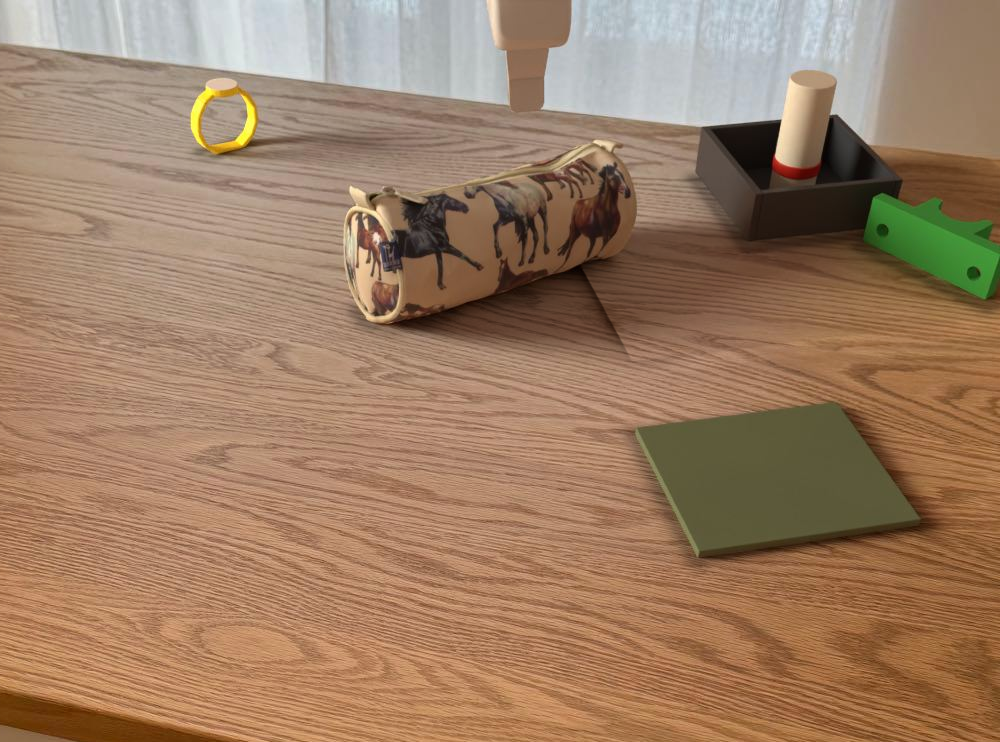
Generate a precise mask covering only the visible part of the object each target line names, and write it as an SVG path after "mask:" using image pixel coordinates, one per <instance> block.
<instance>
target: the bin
mask: <svg viewBox="0 0 1000 742" xmlns="http://www.w3.org/2000/svg"><path fill="white" fill-rule="evenodd" d="M781 121H782V118H781V119H769V120H762V121H761V120H759V121H749V122H739V123H727V124H717V125H716V124H715V125H704V126H701V127H700V135H699V142H698V148H697V155H696V156H697V157H696V164H695V174H696V175H697V177H698V178H699V179H700V180H701V182H702V183H703V184H704V186H705V187H706V188H707V190H708V191H709V192H710V193H711V195H712V196H713V198H714V199H715V200H716V202H717V203H718V204H719V206H720V207H721V209H723V211H724V213H726V215H727V216H728V218H729V219H730V220H731V222H732V223H733V225H734V226H735V227H736V229H738V230H739V232H740V233H741V235H742V236H743V237H744V239H745V240H746V241H747V242H756V241H757V242H758V241H766V240H767V241H768V240H777V239H784V238H785V239H786V238H795V237H804V236H805V237H806V236H814V235H822V234H832V233H841V232H851V231H860V230H865V229H866V225H867V221H868V217H869V213H870V209H871V205H872V201H873V197H875V196H877V195H879V194H881V193H884V194H886V195H888V196H890V197H893V198H895V199H897V200H899V197H900V193H901V188H902V185H903V181H904V179H903V178H902V177H901V176H900V175H899V174H898V173H897V172H896V171H895V170H894V169H893V168H892V167H891V166H890V165H889V164H888V163H887V162H886V161H885V160H884V159H883V158H882V157H881V156H880V155H879V154H878V153H877V152H876V151H875V150H873V148H872V147H871V146H870V145H869V144H868V143H867V142H866V141H865V140H864V139H863V138H861V136H860V135H859V134H857V132H856V131H854V130H853V129H852V128H851V126H849V125H848V123H847V122H845V120H844V119H842V118H841V116H840V115H838V114H830V117H829V122H828V127H827V131H826V136H825V141H824V146H823V150H822V155H821V166H820V170H819V173H818V175H817V178H816V183H815V185H809V186H799V187H789V188H779V189H769V186H770V181H771V175H772V170H773V169H772V163H773V158H774V154H775V153H776V148H777V143H778V138H779V132H780V127H781ZM885 228H888V227H887V226H886V225H885Z"/></svg>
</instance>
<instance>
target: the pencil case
mask: <svg viewBox="0 0 1000 742" xmlns="http://www.w3.org/2000/svg"><path fill="white" fill-rule="evenodd" d="M623 148H624V144H623V143H622V142H618V141H614V140H610V139H609V140H607V139H598V138H597V139H594V140H593V141H592V142H585V143H582V144H579V145H577V146H575V147H573V148H571V149H570V150H568V151H566V152H563V153H560V154H557V155H556V156H553V157H551V158H548V159H545V160H543V161H542V160H541V161H535V162H529V163H526V164H523V165H521V166H518V167H514V168H511V169H508V170H504V171H500V172H496V173H493V174H489V175H486V176H485V175H484V176H482V177H481V176H480V177H478V178H475V179H471V180H469V181H467V182H464V183H463V182H462V183H456V184H452V185H448V186H443V187H438V188H433V189H427V190H422V191H414V192H411V191H410V192H409V191H407V190H403V189H398V190H397V191H396V189H394V187H393V186H390V185H385V186H382V188H380V191H370V192H369V193H368V192H365V191H363V190H361V189H359V188H356V187H354V186H353V185H349V190H348V192H349V194H350V197H352V199H353V201H354V202H355V204H353V206H351V208H350V209H349V210H348V211H347V213H346V215H345V219H344V223H343V224H344V225H343V261H344V262H343V264H344V265H343V266H344V270H345V275H346V280H347V284H348V287H349V290H350V293H351V295H352V298H353V299H354V301H355V304H356V306H357V307H358V309H359V310H360V311H361V313H362V314H363V315H364V316H365V319H366V321H369V322H371V323H374V324H382V325H388V324H392V323H396V322H397V323H398V322H400V321H403V320H410V319H417V318H421V317H424V316H429V315H434V314H437V313H441V312H443V311H446V310H449V309H452V308H455V307H458V306H460V305H463V304H465V303H469V302H473V301H477V300H481V299H484V298H486V297H491V296H494V295H498V294H501V293H505V292H508V291H510V290H513V289H516V288H518V287H522V286H524V285H527V284H530V283H533V282H534V281H536V280H539V279H542V278H545V277H549V276H551V275H554V274H559V273H564V272H566V271H569V270H571V269H573V268H575V267H577V266H579V265H582V264H585V263H586V262H593V261H599V260H605V259H608V258H611V257H614V256H616V255H617V254H618V253H620V252H621V251H622V250H623V249H624V248H625V247H626V246H627V243H628V241H629V239H630V237H631V235H632V233H633V230H634V227H635V224H636V220H637V215H638V214H637V213H638V201H637V194H636V190H635V185H634V183H633V179H632V177H631V174H630V171H629V169H628V168H627V166H626V164H625V163H624V161H623V160H622V158H620V157H619V156H618V155H617V154H615V153H614V150H615V149H623Z"/></svg>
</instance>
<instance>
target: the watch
mask: <svg viewBox="0 0 1000 742" xmlns="http://www.w3.org/2000/svg"><path fill="white" fill-rule="evenodd" d="M237 94H239V95H240V96H241V97H242V99H243V100H244V102H245V104H246V110H247V111H246V112H247V119H246V122H245V125H244V128H243V131H242V132H241V133H240V134H239V135H238V137H236V138H235V140H231V141H226V142H222V143H217V144H211V145H210V144H209V143H207V141H206V139H205V137H204V134H203V132H202V118H203V115H204V113H205V111H206V109H207V107H208V104H210V103H211V102H212V101H213V100H214V99H215V98H222V99H224V98H230V97H234V96H236V95H237ZM258 125H259V113H258V106H257V104H256V102H255V100H254V99H253V98H252V95H250V93H248V92H247V91H246V90H244V89H243V88H241V87H240V86H239V84H238V82H237V81H236V80H235V79H232V78H229V77H228V78H227V77H217V78H212V79H209V80H208V81H206V83H205V90H204V91H203V92H201V94H199V96H197V98H196V100H195V102H194V104H193V106H192V109H191V113H190V128H191V132H192V134H193V136H194V138H195V140H196V142H197V143H198V144H199V145H201V146H202V147H203V148H204V149H206V150H207V151H209V152H210V153H212V154H214V155H219V154H223V153H224V154H225V153H227V152H231V151H236V150H239V149H243V148H245V147H247V145H248V144H249V143H250V142H251V140H253V138H254V136H255V134H256V131H257V127H258Z"/></svg>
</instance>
